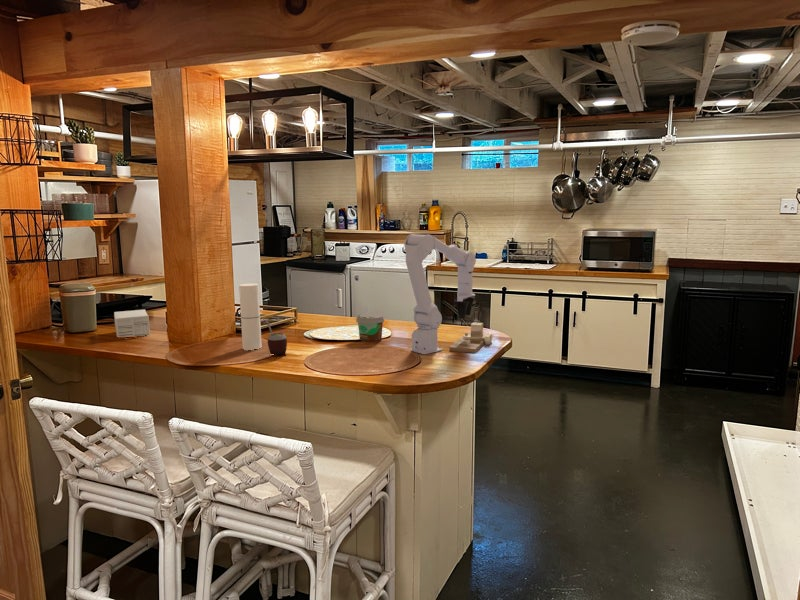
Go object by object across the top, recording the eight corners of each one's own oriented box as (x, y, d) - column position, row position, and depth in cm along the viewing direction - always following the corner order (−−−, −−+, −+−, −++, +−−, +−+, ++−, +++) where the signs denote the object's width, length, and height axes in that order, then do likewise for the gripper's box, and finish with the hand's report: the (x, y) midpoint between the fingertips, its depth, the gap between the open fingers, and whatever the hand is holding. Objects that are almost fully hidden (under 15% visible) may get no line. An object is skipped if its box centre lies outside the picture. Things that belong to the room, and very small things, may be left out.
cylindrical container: (249, 351, 222) (245, 286, 218) (239, 348, 227) (235, 285, 222) (265, 347, 227) (262, 284, 223) (254, 345, 232) (251, 283, 228)
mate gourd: (290, 353, 218) (288, 314, 216) (282, 358, 210) (280, 318, 208) (271, 352, 219) (269, 313, 217) (263, 358, 212) (261, 317, 209)
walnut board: (475, 352, 215) (475, 348, 215) (449, 350, 219) (449, 346, 219) (487, 341, 234) (487, 337, 233) (463, 339, 237) (463, 335, 237)
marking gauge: (488, 344, 226) (489, 326, 225) (462, 342, 230) (462, 324, 229) (492, 341, 232) (492, 323, 231) (466, 339, 236) (466, 321, 235)
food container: (350, 341, 237) (350, 317, 235) (358, 338, 242) (358, 314, 240) (377, 344, 231) (376, 319, 229) (384, 340, 236) (384, 316, 235)
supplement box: (115, 332, 260) (113, 311, 259) (147, 329, 266) (145, 309, 265) (116, 339, 245) (114, 318, 244) (150, 336, 251) (148, 315, 250)
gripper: (469, 285, 221) (469, 320, 223) (479, 280, 234) (479, 314, 236) (452, 284, 223) (451, 319, 225) (462, 280, 237) (462, 313, 239)
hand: (464, 316), depth 231 cm, fingers open, 7 cm apart
